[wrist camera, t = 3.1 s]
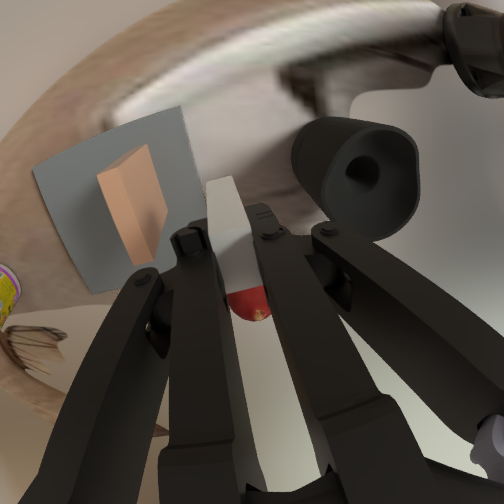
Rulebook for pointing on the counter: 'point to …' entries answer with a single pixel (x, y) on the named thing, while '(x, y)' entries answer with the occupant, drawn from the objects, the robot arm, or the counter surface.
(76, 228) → the slate board
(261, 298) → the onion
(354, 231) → the robot arm
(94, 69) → the counter surface
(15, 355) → the counter surface
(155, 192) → the tile
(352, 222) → the pen holder
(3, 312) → the supplement bottle
